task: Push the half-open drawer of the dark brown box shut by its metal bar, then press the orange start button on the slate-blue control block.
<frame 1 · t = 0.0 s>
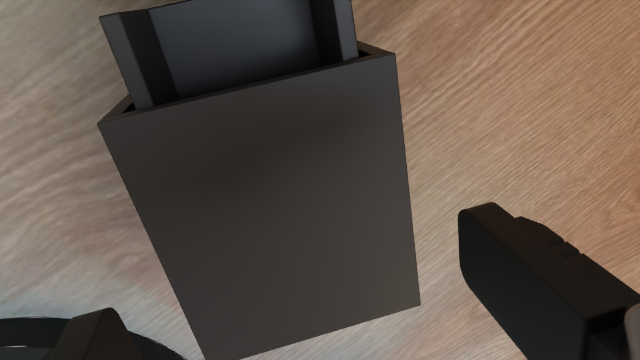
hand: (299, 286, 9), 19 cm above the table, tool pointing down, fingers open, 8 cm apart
dark brown box: (273, 163, 28), on the table
drawer: (239, 37, 20), point 5 cm above the table, slide at 5.0 cm
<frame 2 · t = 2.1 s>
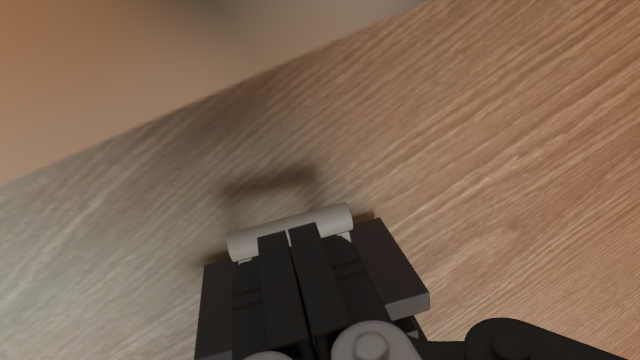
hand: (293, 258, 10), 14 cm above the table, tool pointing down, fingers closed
drawer: (318, 335, 24), point 5 cm above the table, slide at 5.0 cm
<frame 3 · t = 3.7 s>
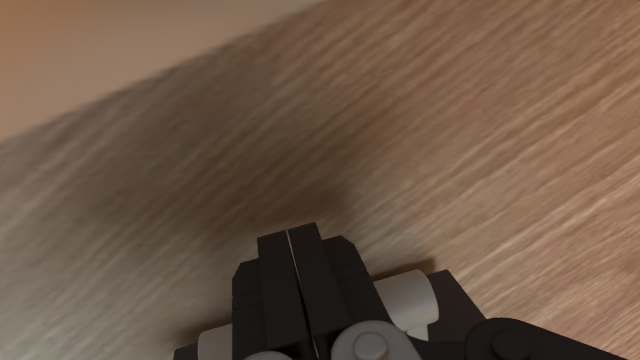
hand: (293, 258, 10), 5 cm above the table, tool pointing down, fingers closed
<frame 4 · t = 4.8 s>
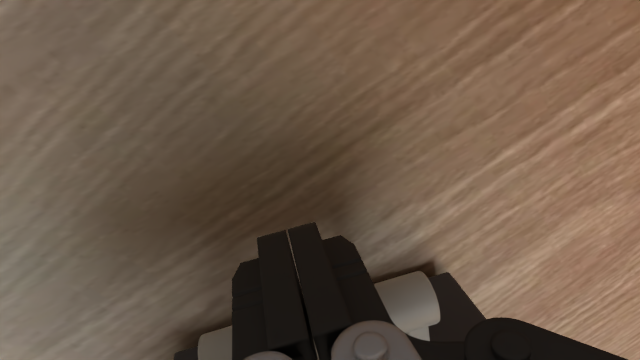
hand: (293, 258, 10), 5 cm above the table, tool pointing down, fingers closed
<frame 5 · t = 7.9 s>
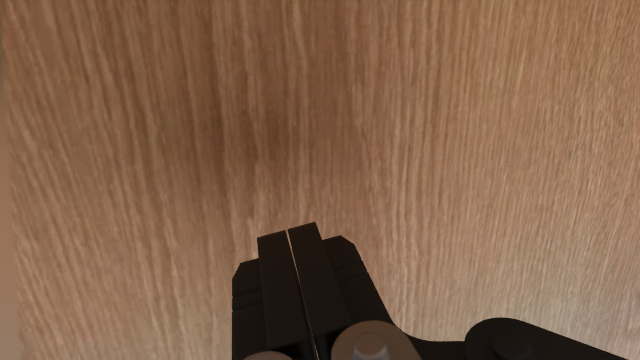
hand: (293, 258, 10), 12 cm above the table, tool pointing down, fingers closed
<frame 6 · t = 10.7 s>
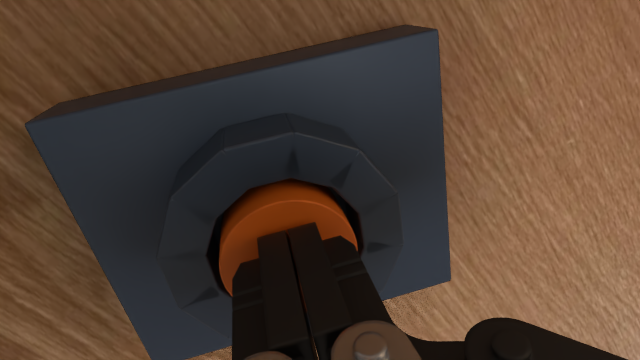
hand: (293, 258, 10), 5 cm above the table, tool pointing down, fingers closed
control block: (274, 188, 14), on the table
start button: (286, 244, 11), point 4 cm above the table, slide at -0.8 cm, touching gripper
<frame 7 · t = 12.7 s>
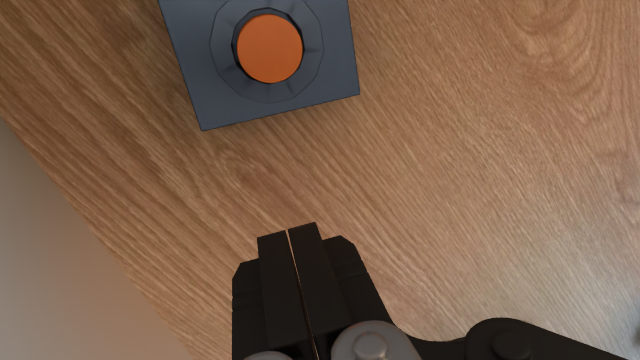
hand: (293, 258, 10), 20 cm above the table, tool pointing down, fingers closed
control block: (264, 40, 27), on the table
start button: (269, 48, 23), point 4 cm above the table, slide at 0.1 cm
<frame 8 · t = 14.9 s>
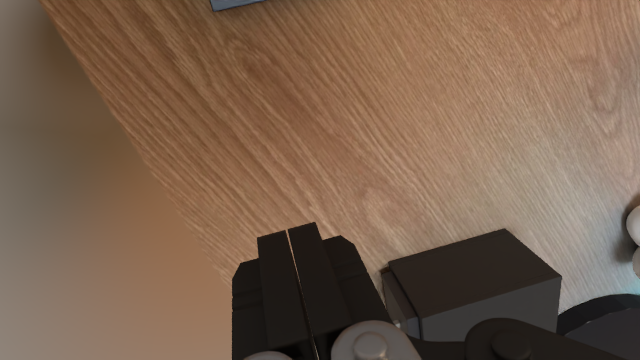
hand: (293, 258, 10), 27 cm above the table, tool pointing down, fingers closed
dark brown box: (449, 285, 49), on the table
drawer: (437, 321, 45), point 5 cm above the table, slide at 0.0 cm
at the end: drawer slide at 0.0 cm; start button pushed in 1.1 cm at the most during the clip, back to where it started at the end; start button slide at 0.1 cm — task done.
